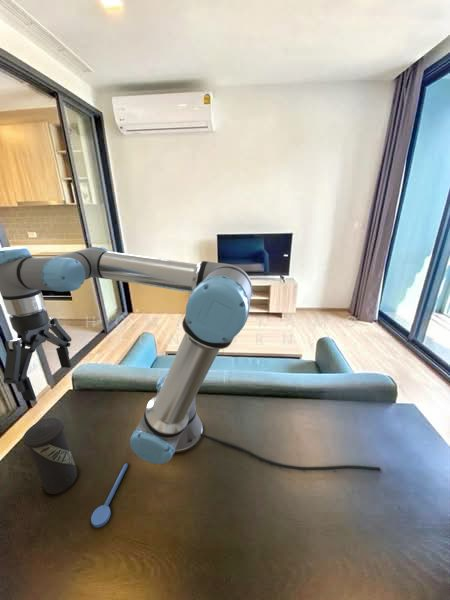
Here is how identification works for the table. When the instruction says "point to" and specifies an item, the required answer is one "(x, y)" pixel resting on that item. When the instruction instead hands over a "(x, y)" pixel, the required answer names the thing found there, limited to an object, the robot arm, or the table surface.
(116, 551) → the table surface
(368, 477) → the table surface
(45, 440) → the container
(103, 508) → the spoon
